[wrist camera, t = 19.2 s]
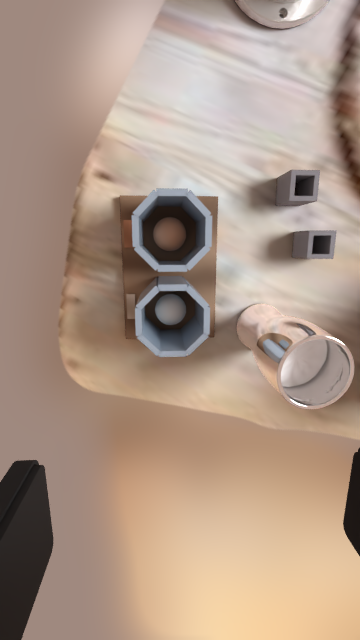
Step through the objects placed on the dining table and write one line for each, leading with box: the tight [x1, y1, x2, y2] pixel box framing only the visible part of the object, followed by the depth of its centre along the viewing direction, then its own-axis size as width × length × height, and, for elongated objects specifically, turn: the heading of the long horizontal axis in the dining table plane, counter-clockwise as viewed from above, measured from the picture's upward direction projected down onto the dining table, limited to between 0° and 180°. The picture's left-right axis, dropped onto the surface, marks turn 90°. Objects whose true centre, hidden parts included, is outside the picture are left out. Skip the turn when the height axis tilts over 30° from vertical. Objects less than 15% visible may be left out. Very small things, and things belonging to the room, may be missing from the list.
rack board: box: [120, 196, 218, 339], centre depth 37 cm, size 17×11×1 cm, turn 0°
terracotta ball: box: [153, 217, 186, 251], centre depth 34 cm, size 4×4×4 cm
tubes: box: [132, 188, 212, 357], centre depth 33 cm, size 16×7×8 cm, turn 0°
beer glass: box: [237, 304, 355, 409], centre depth 33 cm, size 7×7×15 cm
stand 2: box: [292, 231, 336, 259], centre depth 36 cm, size 3×3×4 cm
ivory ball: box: [155, 294, 186, 325], centre depth 36 cm, size 4×4×4 cm
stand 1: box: [276, 170, 320, 206], centre depth 34 cm, size 3×3×4 cm
